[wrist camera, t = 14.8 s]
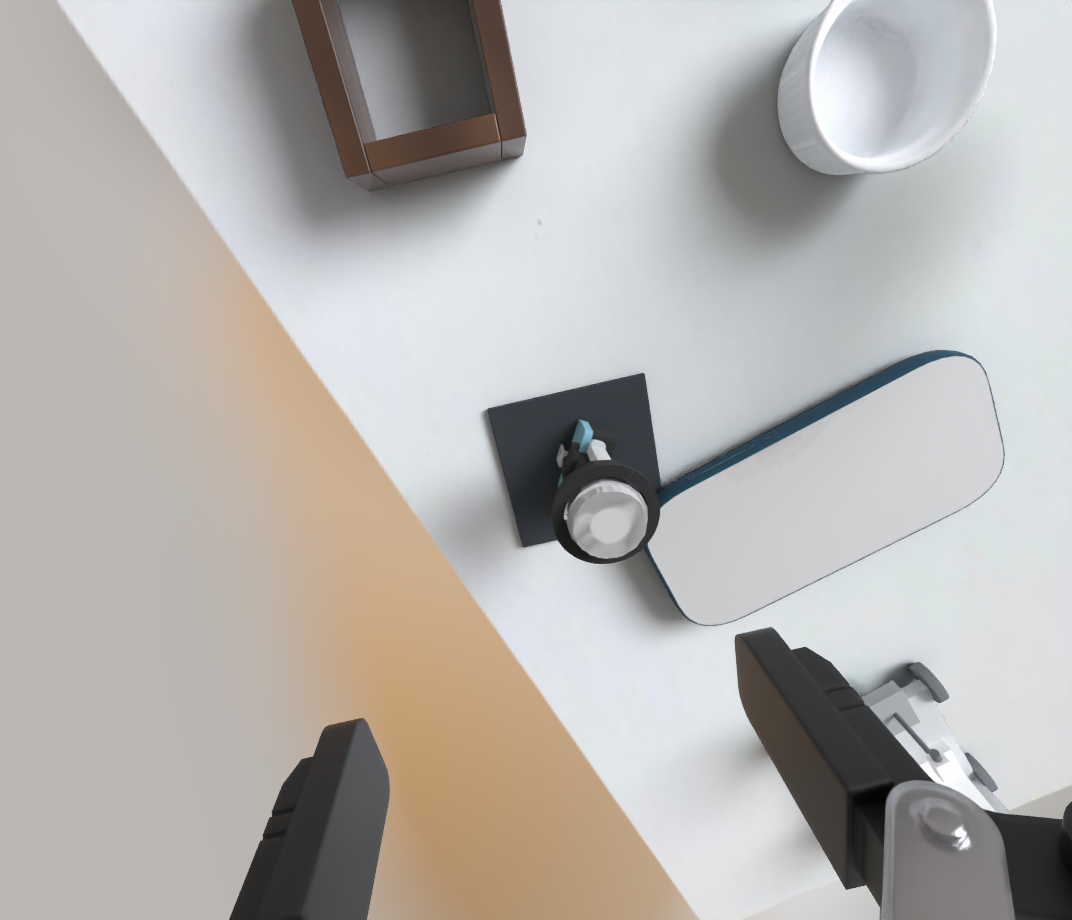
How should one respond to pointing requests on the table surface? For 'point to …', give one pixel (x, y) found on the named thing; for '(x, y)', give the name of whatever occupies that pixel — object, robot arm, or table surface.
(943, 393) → the external hard drive
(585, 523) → the push button
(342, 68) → the holder
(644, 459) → the mat
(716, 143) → the table surface
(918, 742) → the toy car
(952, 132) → the ramekin
